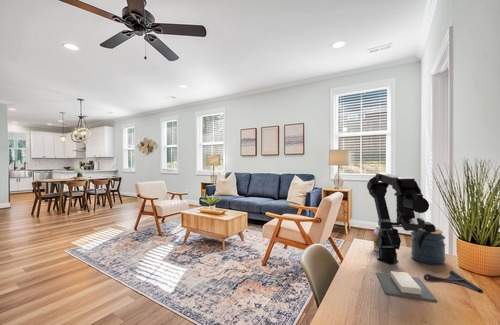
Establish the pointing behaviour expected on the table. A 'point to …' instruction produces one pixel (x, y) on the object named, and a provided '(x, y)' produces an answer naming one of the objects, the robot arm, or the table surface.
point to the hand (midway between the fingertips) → (405, 246)
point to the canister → (429, 248)
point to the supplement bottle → (376, 237)
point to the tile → (405, 283)
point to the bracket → (454, 280)
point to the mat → (393, 289)
